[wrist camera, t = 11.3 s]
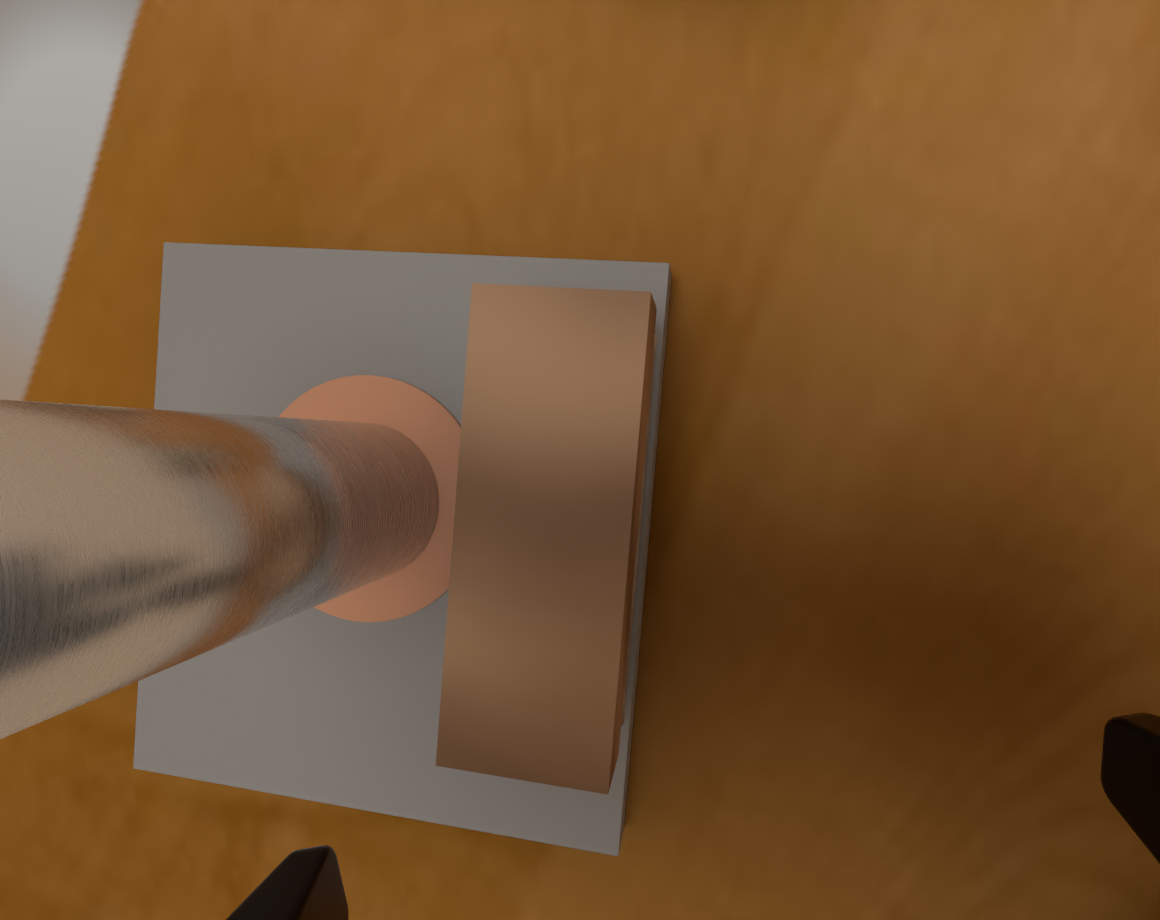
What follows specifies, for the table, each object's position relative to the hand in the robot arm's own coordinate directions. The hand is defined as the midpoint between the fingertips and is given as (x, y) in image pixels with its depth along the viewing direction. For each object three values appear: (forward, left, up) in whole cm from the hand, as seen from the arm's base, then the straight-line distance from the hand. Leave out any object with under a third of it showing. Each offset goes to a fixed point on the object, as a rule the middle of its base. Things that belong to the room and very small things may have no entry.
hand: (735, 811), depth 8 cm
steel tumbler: (+2, +10, -11) cm, 15 cm away
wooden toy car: (+2, +4, -11) cm, 12 cm away
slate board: (+1, +9, -12) cm, 15 cm away
